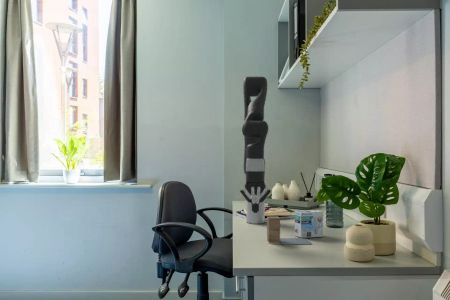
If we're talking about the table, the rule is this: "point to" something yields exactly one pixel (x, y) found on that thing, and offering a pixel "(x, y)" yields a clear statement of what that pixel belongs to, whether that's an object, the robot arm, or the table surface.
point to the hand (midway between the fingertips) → (255, 212)
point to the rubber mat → (295, 241)
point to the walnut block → (273, 229)
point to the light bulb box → (309, 223)
